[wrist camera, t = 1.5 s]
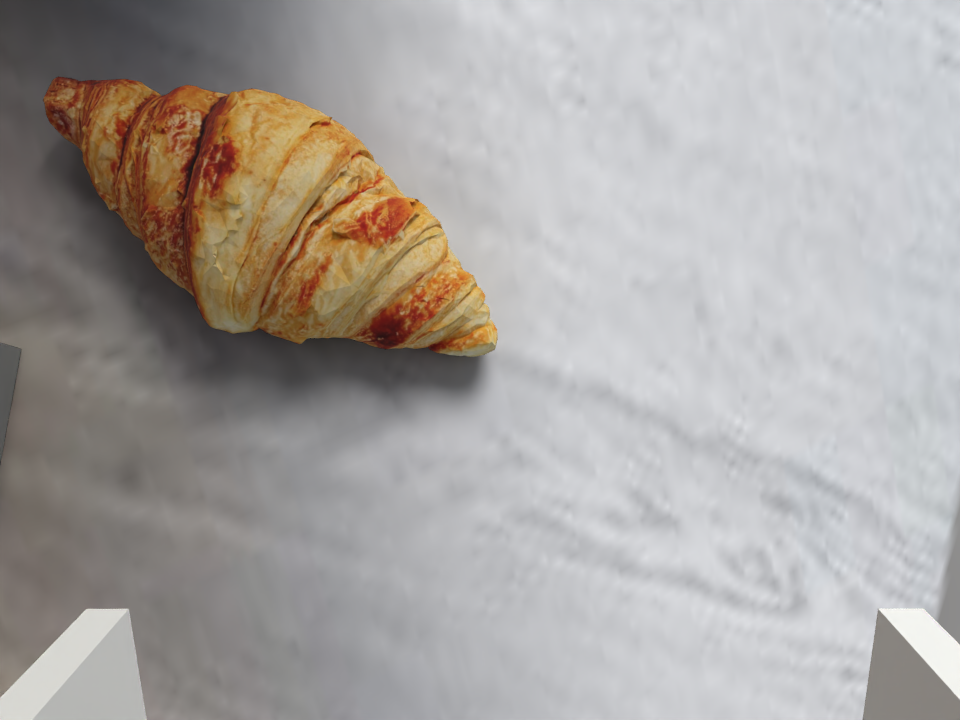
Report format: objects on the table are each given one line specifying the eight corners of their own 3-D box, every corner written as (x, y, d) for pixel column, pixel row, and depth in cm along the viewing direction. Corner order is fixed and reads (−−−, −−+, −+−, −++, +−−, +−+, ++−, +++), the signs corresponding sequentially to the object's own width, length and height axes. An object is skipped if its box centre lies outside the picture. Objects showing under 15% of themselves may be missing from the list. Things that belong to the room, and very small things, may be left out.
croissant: (499, 310, 37) (571, 207, 31) (434, 465, 30) (509, 375, 24) (124, 106, 34) (121, -51, 28) (-30, 229, 28) (-79, 62, 22)
